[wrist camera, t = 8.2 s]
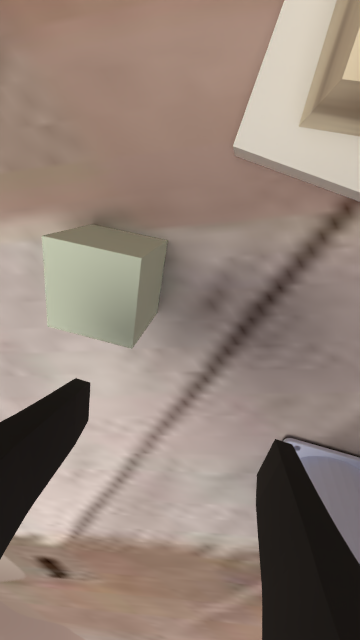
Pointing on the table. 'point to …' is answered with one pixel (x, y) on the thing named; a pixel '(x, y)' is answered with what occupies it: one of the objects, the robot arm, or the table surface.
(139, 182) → the table surface
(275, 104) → the base block
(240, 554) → the table surface
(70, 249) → the sage cube
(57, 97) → the table surface
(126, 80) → the table surface
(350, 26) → the birch cube
